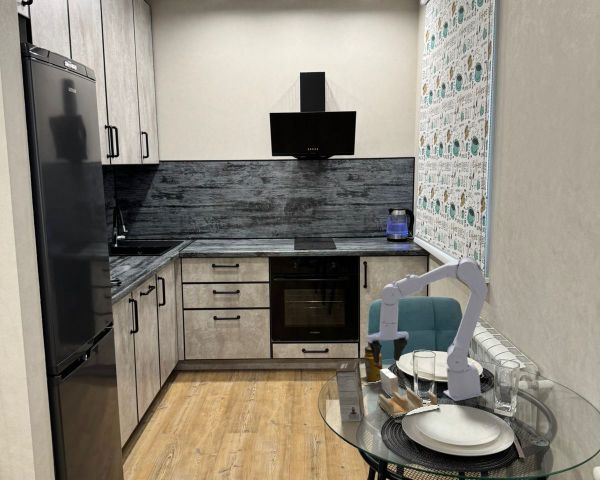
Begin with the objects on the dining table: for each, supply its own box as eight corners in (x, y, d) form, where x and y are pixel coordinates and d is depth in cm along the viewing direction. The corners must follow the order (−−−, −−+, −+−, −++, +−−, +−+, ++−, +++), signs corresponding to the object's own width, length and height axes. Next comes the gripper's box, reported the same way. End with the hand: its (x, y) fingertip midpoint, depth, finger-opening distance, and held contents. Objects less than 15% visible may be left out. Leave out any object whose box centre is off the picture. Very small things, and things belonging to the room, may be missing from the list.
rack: (422, 394, 181) (421, 383, 181) (439, 408, 170) (438, 397, 169) (378, 403, 178) (377, 392, 178) (393, 418, 166) (391, 406, 166)
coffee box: (344, 409, 177) (339, 360, 175) (364, 408, 176) (359, 359, 174) (340, 422, 168) (335, 370, 166) (362, 421, 167) (356, 370, 165)
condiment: (387, 381, 196) (384, 348, 195) (364, 385, 194) (361, 352, 193) (380, 374, 203) (377, 342, 202) (358, 378, 201) (354, 346, 200)
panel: (388, 388, 190) (386, 368, 189) (399, 397, 181) (397, 377, 180) (381, 389, 189) (379, 369, 189) (392, 399, 181) (390, 378, 180)
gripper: (401, 316, 187) (399, 354, 189) (363, 319, 182) (361, 359, 184) (413, 322, 181) (410, 362, 183) (373, 325, 175) (371, 367, 177)
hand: (386, 361), depth 183 cm, fingers open, 7 cm apart
